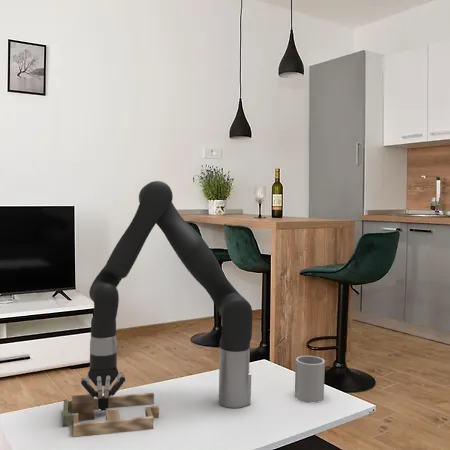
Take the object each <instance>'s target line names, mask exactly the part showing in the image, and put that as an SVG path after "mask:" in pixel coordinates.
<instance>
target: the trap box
mask: <svg viewBox="0 0 450 450" xmlns="http://www.w3.org/2000/svg"><path fill="white" fill-rule="evenodd" d="M154 404H155V394H154V392H148V393H147V392H145V393H134V394H132V393H131V394H121V395H113V396H110V397H109V398H108V408H107V409H106V411H105V420H99V421H86V422H79V421H78V413H72V398H71V399H64V400H63V407H62V408H63V412H62V427H63V428H66V427H73V435H72V437H74V438H75V437H77V438H78V437H84V436H95V435H104V434H106V435H107V434H113V433H125V432H134V431H136V432H137V431H145V430H152V429H154V420H155V419H157V418H158V419H159V418H160V406H159V405H154ZM143 405H144V407H145V408H144V409H145V410H144V411H145V412H144V413H145V416H141V417H139V416H138V417H129V418H121V414H120V410H119V409H110V408H122V407H131V406H132V407H133V406H143ZM145 405H152V406H145ZM108 409H109V410H108ZM94 410H100V409H99V408H98V398H97V397H94ZM69 412H71V413H69Z"/></svg>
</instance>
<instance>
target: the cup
mask: <svg viewBox="0 0 450 450" xmlns="http://www.w3.org/2000/svg"><path fill="white" fill-rule="evenodd" d="M325 367H326V360H325V359H324V358H323V357H319V356H314V355H300V356H297V357H296V358H295V368H294V369H295V371H294V372H295V373H294V375H295V378H294V398H295V399H296V398H297V399H296V400H298V401H300V402H303V401H304V403H310V402H315V403H319V401H320V402H323V400H324V399H325V397H324V394H325V372H326V371H325Z"/></svg>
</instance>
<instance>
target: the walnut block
mask: <svg viewBox="0 0 450 450" xmlns="http://www.w3.org/2000/svg"><path fill="white" fill-rule="evenodd" d="M94 398H95V397H92V396H91V395H90V393H88V394H77V395H71V399H72V411H71V414H72V413H78V422H80V421H92V420H95V409H94Z"/></svg>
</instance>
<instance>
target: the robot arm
mask: <svg viewBox="0 0 450 450" xmlns="http://www.w3.org/2000/svg"><path fill="white" fill-rule="evenodd" d="M138 194H139V195H138V203H139V205H138V207H137V209H136V212H135V213H134V216H133V218H132V220H131V222H130V223H129V225H128V227H127V229H125V231H124V233H123V234H122V235H121V237H120V239H119V240H117V242H116V245H115V246H114V249H113V250H112V252H111V253H110V256H109V257H108V260H107V261H106V264H105V265H104V266H103V268H102V269H101V270H100V272H99V273H98V274H97V275H96V277H95V278H94V280H93V281H92V283H91V285H90V288H89V298H90V300H91V301H93V316H92V318H91V321H90V340H89V370H88V372H87V375H86V376H85V377H82V378H81V379H80V384H81V386H83V388H84V389H85V390H86V391H87V393H88V394H90V395H91V396H92V397H94V398H96V397H97V398H98V408H99V409H98V410H100V412H106V410H108V409H109V408H108V398H109V397H110V396H116V393H117V392H118V391H119V389H120V388H121V387H122V386H123V385H124V383H125V382H126V378H125V377H126V376H125V375H124V374H120V372H119V370H118V366H117V360H118V358H117V357H118V344H117V343H118V340H117V317H118V316H117V315H118V310H119V303H120V302H119V301H120V299H119V298H120V297H119V296H120V295H119V290H118V288H117V287H118V286H119V284H120V282H121V281H122V279H123V280H124V279H125V278H127V277H128V275H129V273H130V271H131V270H132V268H133V266H134V265H135V262H136V261H137V258H138V256H139V255H140V253H141V251H142V248H143V247H144V245H145V243H146V241H147V239H148V237H149V235H150V234H151V232H152V230H153V229H154V227H155V225H157V227H158V228H159V229H160V230H161V231H162V233H163V235H164V236H165V238H166V239H167V241H168V242H169V244H170V247H171V248H172V249H173V251H174V252H175V254H176V256H177V257H178V258H179V260H180V261H181V263H182V264H183V265H184V267H185V268H186V269H187V271H188V272H189V273H190V274H191V276H192V277H193V278H194V279H195V281H197V283H199V284H200V285H201V286H202V287H203V289H205V291H206V292H207V293H208V295H209V296H210V298H211V300H212V302H213V303H214V305H215V307H216V309H217V311H218V313H219V315H220V317H221V319H222V320H221V337H220V338H219V362H218V364H219V366H218V367H219V370H218V371H219V373H218V404H219V405H220V406H222V407H225V408H229V409H230V408H231V409H238V408H244V407H246V406H249V405H250V406H251V401H252V400H251V397H252V373H251V372H250V356H251V355H250V354H251V353H250V351H251V350H250V349H251V341H252V336H253V308H252V305H251V304H250V302H249V301H248V300H247V299H246V298H245V297H244V296H243V295H241V294H240V293H239V292H238V290H237V289H236V288H235V287H234V285H232V283H231V282H230V281H229V280H228V279H227V277H226V275H225V274H224V272H223V270H222V267H221V265H220V263H219V261H218V259H217V258H216V256H215V254H214V253H213V251H212V250H211V248H210V246H209V245H208V244H207V243H206V241H205V239H204V238H203V237H202V236H201V235H200V234H199V233H198V232H197V230H195V229H194V228H193V227H192V226H191V225H190V224H189V223H188V222H187V221H186V220H185V219H184V218H183V217H182V215H181V214H180V213H179V211H178V210H177V209H176V206H175V205H174V203H173V196H174V195H173V191H172V189H171V186H169V185H168V184H167V183H166V182H164V181H162V180H161V181H160V180H155V181H150V182H149V183H147V184H145V185H144V186H143V187H142V188H141V189H140V191H139V193H138ZM115 380H116V382H115V383H114V384H113V382H114V381H115ZM91 382H92V383H93V384H94V386H96V387H97V390H95V388H94V387H93V386H92V385H91ZM112 384H113V386H112V387H111V388H110V385H112Z"/></svg>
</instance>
